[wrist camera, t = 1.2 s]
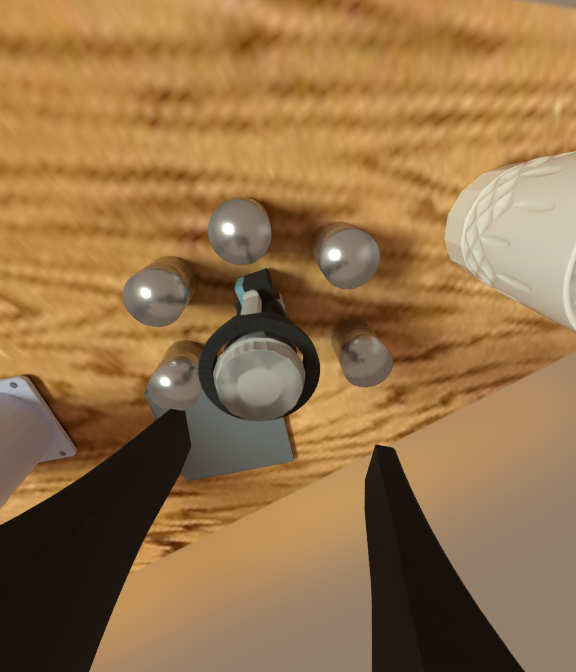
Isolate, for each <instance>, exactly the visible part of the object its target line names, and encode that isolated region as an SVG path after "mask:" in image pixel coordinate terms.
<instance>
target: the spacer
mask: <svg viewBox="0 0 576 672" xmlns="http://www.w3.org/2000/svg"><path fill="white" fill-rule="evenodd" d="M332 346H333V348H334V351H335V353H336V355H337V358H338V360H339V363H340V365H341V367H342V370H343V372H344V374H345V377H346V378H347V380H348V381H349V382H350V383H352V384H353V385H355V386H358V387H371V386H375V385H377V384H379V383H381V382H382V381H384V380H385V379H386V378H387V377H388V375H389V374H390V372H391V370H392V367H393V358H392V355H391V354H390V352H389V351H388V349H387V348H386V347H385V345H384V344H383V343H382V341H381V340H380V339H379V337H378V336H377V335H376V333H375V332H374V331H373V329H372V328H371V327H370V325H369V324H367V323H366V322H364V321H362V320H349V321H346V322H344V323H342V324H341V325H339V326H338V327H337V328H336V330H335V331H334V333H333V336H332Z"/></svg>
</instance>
